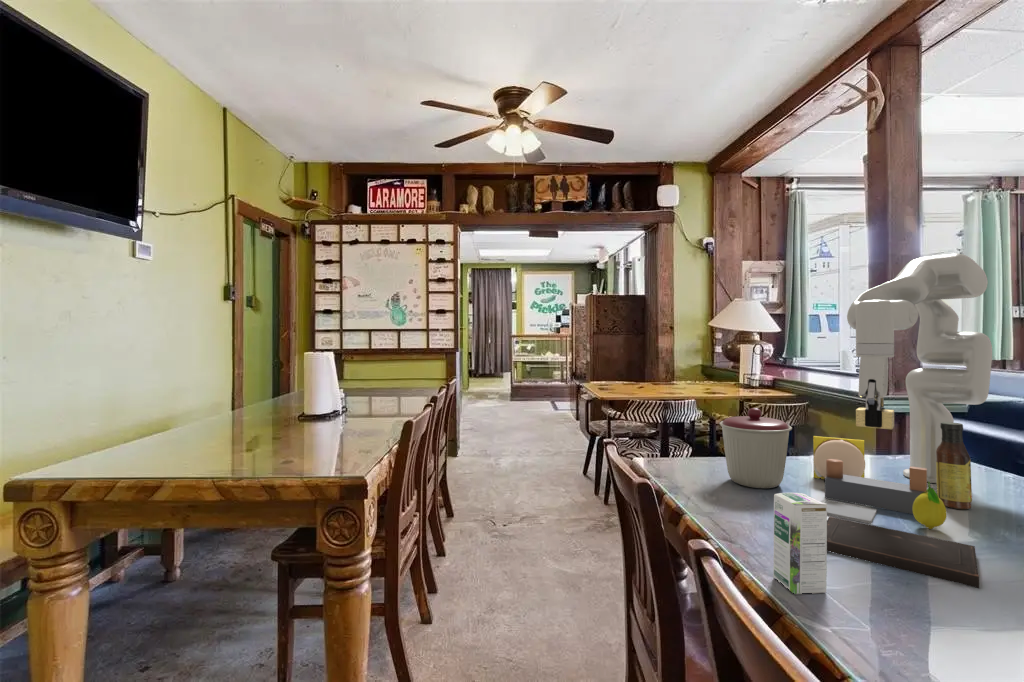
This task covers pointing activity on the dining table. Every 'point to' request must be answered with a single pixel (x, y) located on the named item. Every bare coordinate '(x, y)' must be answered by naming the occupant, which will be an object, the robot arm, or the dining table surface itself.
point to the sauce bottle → (953, 468)
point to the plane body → (874, 488)
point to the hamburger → (838, 455)
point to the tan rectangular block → (886, 418)
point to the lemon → (929, 509)
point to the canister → (755, 449)
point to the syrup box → (800, 543)
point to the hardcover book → (904, 551)
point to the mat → (850, 511)
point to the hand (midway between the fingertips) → (875, 424)
